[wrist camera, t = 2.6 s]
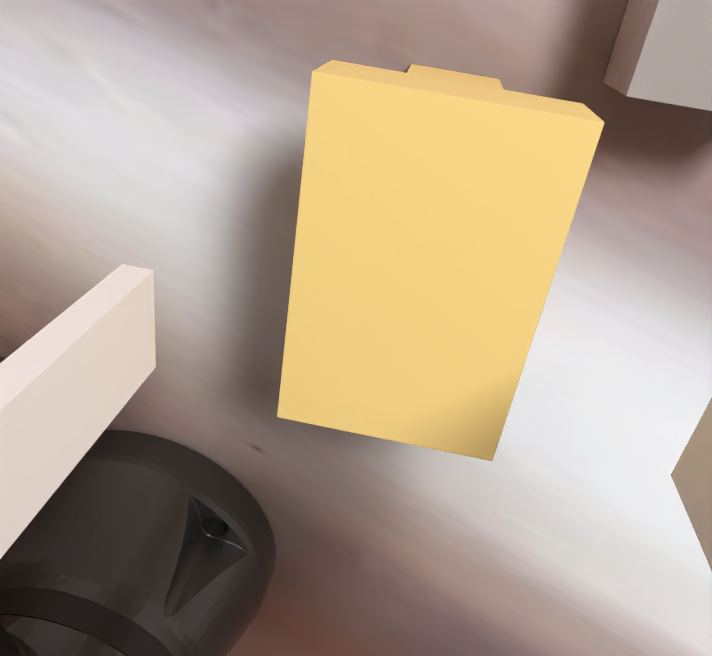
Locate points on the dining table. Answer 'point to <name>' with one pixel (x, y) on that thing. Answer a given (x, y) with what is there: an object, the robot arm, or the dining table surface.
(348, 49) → the dining table surface
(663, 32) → the rail
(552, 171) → the yellow bridge
